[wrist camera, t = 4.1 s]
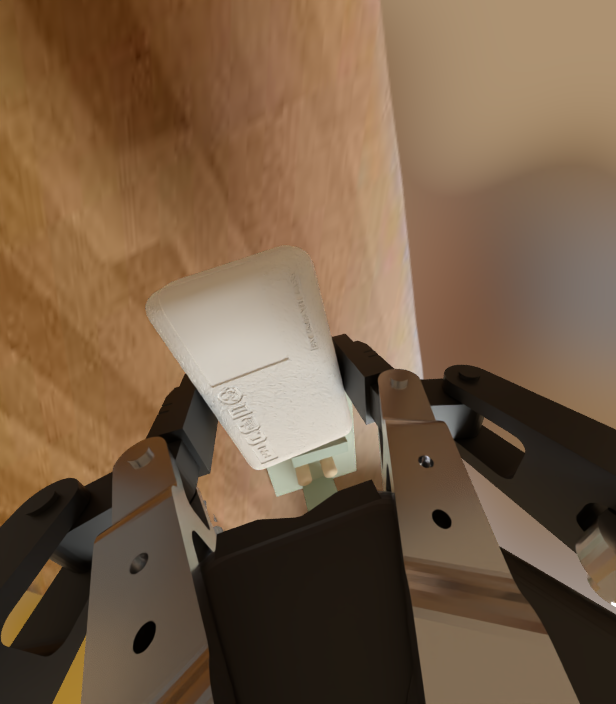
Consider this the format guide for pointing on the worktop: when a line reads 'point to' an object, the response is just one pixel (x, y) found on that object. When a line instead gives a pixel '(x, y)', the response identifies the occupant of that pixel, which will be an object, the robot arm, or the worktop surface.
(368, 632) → the robot arm
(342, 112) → the worktop surface
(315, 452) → the soap rest
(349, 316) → the worktop surface
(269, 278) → the soap
